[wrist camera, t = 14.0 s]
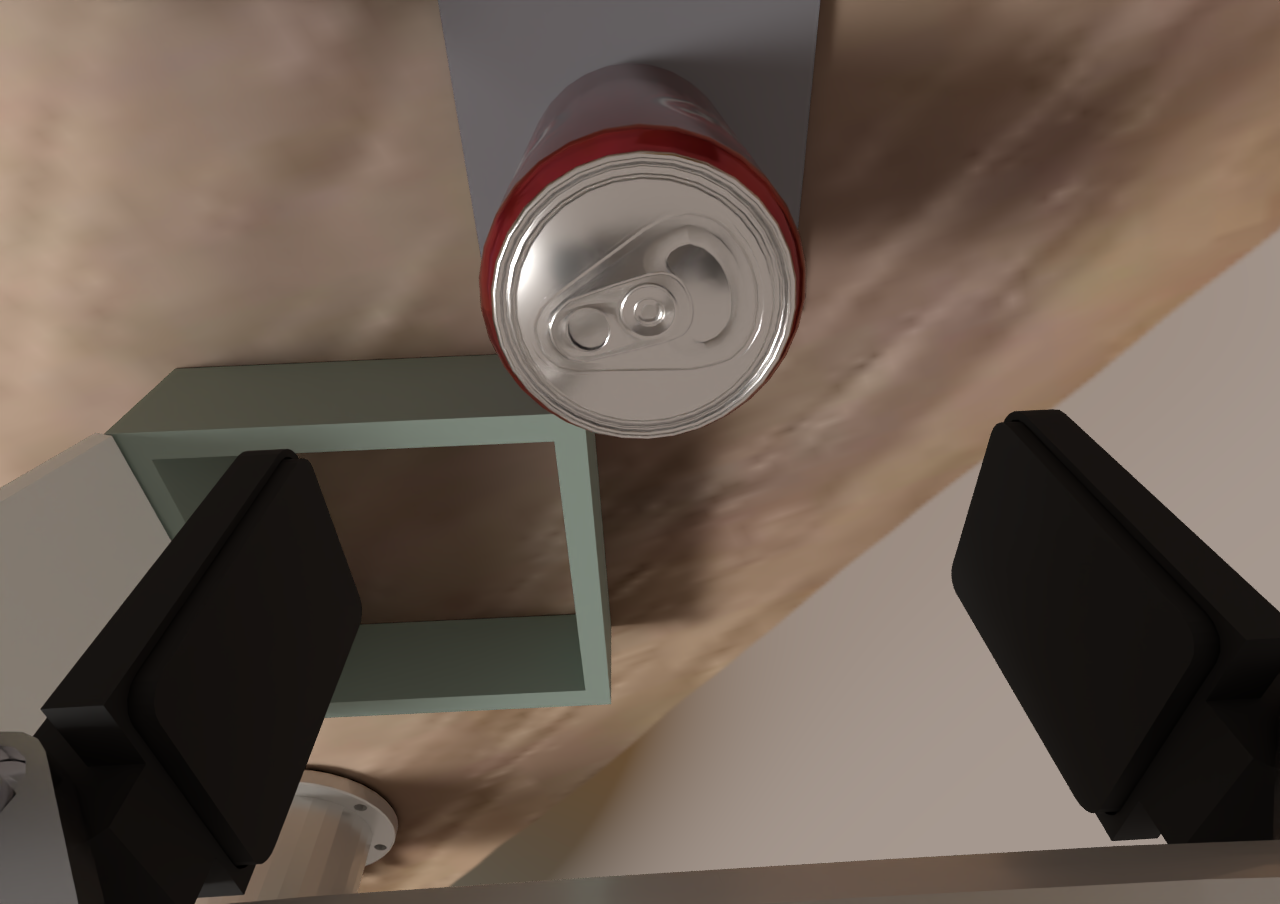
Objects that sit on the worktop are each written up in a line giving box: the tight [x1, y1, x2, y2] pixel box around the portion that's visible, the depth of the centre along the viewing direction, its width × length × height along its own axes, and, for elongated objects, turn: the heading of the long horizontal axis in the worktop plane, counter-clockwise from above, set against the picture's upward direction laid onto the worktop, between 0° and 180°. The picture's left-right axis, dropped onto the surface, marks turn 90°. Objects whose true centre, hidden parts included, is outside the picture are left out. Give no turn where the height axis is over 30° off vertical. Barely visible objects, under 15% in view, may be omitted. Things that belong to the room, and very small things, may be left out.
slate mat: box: [438, 0, 820, 260], centre depth 25 cm, size 12×12×1 cm
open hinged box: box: [0, 355, 611, 736], centre depth 26 cm, size 17×23×19 cm
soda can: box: [479, 63, 806, 439], centre depth 20 cm, size 7×7×12 cm
